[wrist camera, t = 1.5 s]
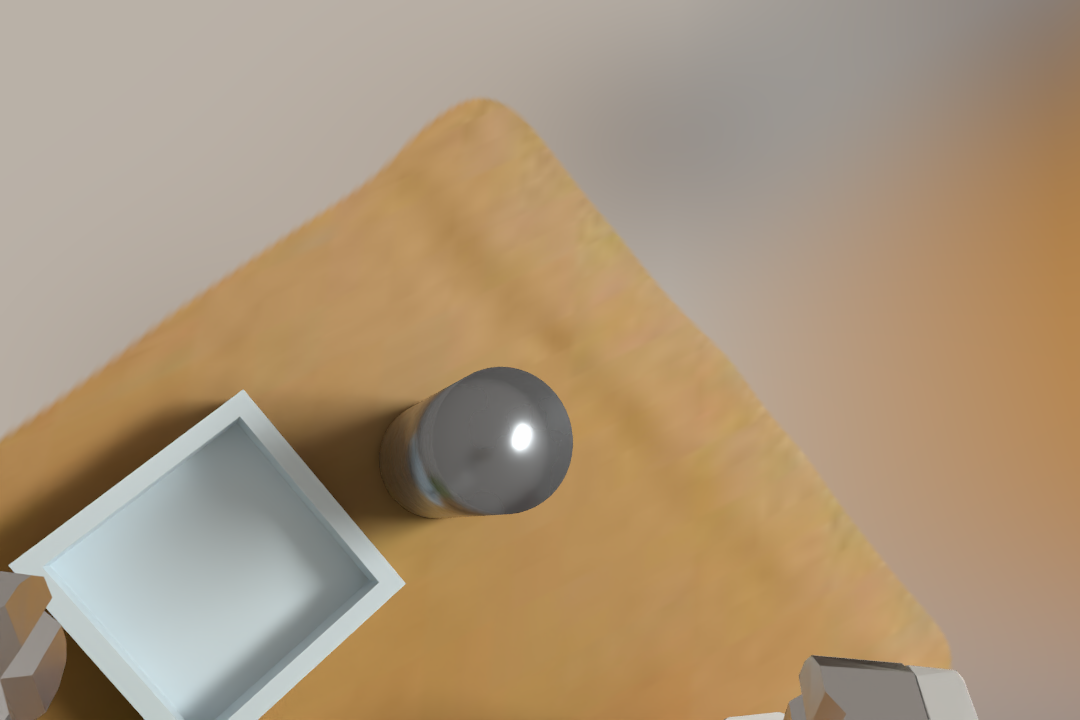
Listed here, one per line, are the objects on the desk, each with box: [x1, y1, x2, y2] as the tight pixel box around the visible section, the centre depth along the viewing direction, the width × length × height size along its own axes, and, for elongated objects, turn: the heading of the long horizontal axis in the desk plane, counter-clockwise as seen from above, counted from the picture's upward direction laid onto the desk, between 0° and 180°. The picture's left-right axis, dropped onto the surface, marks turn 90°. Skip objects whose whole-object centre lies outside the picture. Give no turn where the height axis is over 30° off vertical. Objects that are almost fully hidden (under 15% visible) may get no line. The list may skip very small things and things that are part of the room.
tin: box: [379, 367, 573, 518], centre depth 40 cm, size 6×6×10 cm
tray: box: [8, 390, 406, 720], centre depth 39 cm, size 11×11×3 cm
